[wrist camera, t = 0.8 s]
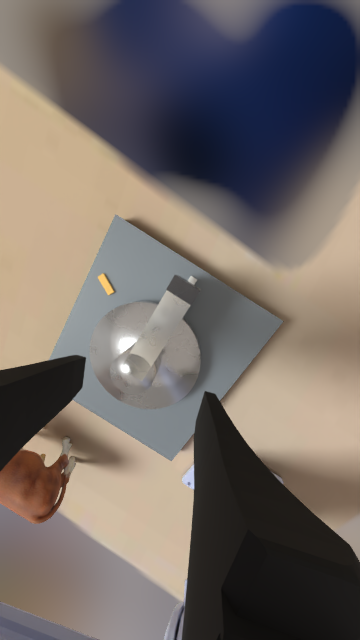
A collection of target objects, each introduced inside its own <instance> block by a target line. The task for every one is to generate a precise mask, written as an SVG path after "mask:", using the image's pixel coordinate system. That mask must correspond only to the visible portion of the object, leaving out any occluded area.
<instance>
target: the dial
mask: <svg viewBox="0 0 360 640" xmlns="http://www.w3.org/2000/svg"><path fill="white" fill-rule="evenodd" d="M166 290H167V291H166V292H165V294H164V296H163V297H162V299H161V301H160V302H159V303H157V302H152V301H136V302H131V303H128V304H124V305H121V306H119V307H117V308H115V309H113V310H111V311H110V312H108V313H107V314H106V315H105V316H104V317H103V318H102V319H101V320H100V321H99V323H98V324H97V326H96V327H95V329H94V332H93V334H92V337H91V341H90V361H91V365H92V368H93V371H94V373H95V375H96V377H97V379H98V381H99V382H100V383H101V385H102V386H103V387H104V388H105V390H106V391H107V392H108V393H110V394H111V395H112V396H113V397H115V398H116V399H117V400H119V401H121V402H123V403H125V404H127V405H129V406H132V407H136V408H141V409H159V408H164V407H167V406H170V405H173V404H175V403H177V402H178V401H180V400H181V399H182V398H184V397H185V396H186V395H187V394H188V393H189V392H190V390H191V389H192V388H193V386H194V384H195V382H196V380H197V378H198V375H199V371H200V364H201V351H200V345H199V341H198V338H197V336H196V334H195V331H194V330H193V328H192V327H191V325H190V324H189V323H188V321H187V320H186V319H185V318H184V317H183V316H184V315H185V313H186V312H187V310H188V308H189V307H190V305H192V304H193V302H194V300H195V299H196V297H197V296H198V294H199V293H200V291H201V289H200V288H198V287H197V286H195V285H193V284H192V283H190V282H189V281H187V280H186V279H184V278H182V277H181V276H178V275H174V277H173V279H172V280H171V282H170V284H169V285H168V287H167V289H166Z"/></svg>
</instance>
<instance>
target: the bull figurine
mask: <svg viewBox="0 0 360 640" xmlns="http://www.w3.org/2000/svg"><path fill="white" fill-rule="evenodd" d="M62 446H63V449H62V453H61V455H60V457H59V459H58V460H57V461H56V462H55V463H54V464H53V465H52V466H50V467H45V465H44V460H45V454H41V456H40V455H39V454H37V453H35V452H32V451H28V450H24V449H22V448H21V449H20V451H19V452H18V453H17V454H16V455H15V456H14V457H13V458H12V459H11V460H10V461H9V462H8V464H7V465H6V466H5V467H4V468H3V469H2V470H1V471H0V503H1V504H2V505H4V506H6V507H7V508H9V509H10V510H12V511H13V512H15V513H17V514H18V515H20V516H22V517H23V518H25V519H27V520H28V521H30V522H31V523H34V524H38V523H42V522H44V521H46V520H48V519H49V518H51V517H52V515H53V514H54V513H55V512H56V511H57V509H58V508H59V506H60V504H61V502H62V500H63V497H64V494H65V490H66V484H67V483H68V482H69V478H70V475H71V472H72V470H73V469H74V467H75V465H76V463H75V457H74V456H73V457H72V456H71V457H70V458H69V460H68V453H69V450H70V448H71V446H72V443H70V438H68V437H64V438H63V440H62ZM63 469H64V472H63V473H62V474H61V472H62V470H63ZM61 487H62V491H61V494H60V497H59V499H58V502H57V503H56V504H55V502H56V499H57V497H58V494H59V490H60V488H61ZM54 504H55V505H54Z"/></svg>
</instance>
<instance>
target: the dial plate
mask: <svg viewBox="0 0 360 640" xmlns="http://www.w3.org/2000/svg"><path fill="white" fill-rule="evenodd" d="M174 275H178V276H181V277H182V278H184V279H186V280H187V281H189V282H190V283H192V284H193V285H195V286H197V287H198V288H200V289H201V291H200V293H199V294H198V296H197V297H196V299H195V300H194V302H193V304H192V305H190V307H189V308H188V310H187V312H186V313H185V315H184V316H183V317H184V318H185V319H186V320H187V321H188V323H189V324H190V325H191V327H192V328H193V330H194V331H195V334H196V336H197V338H198V341H199V345H200V351H201V364H200V371H199V375H198V378H197V380H196V382H195V384H194V386H193V388H192V389H191V390H190V392H189V393H188V394H187V395H186V396H185V397H184V398H182V399H181V400H180V401H178V402H177V403H175V404H173V405H170V406H167V407H164V408H159V409H141V408H136V407H132V406H129V405H127V404H125V403H123V402H121V401H119V400H117V399H116V398H115V397H113V396H112V395H111V394H110V393H108V392H107V391H106V390H105V388H104V387H103V386H102V385H101V383H100V382H99V381H98V379H97V377H96V375H95V373H94V371H93V368H92V365H91V361H90V341H91V337H92V334H93V332H94V329H95V327H96V326H97V324H98V323H99V321H100V320H101V319H102V318H103V317H104V316H105V315H106V314H107V313H108V312H110V311H111V310H113V309H115V308H117V307H119V306H121V305H124V304H128V303H131V302H136V301H152V302H157V303H159V302H160V301H161V299H162V297H163V296H164V294H165V292H166V291H167V290H166V289H167V287H168V285H169V284H170V282H171V280H172V279H173V277H174ZM283 322H284V321H282V320H281V319H279V318H278V317H276V316H274V315H273V314H271V313H270V312H268V311H267V310H265V309H263V308H262V307H260V306H259V305H257V304H256V303H254V302H253V301H251V300H249V299H248V298H246V297H245V296H243V295H242V294H240V293H238V292H237V291H235V290H234V289H232V288H231V287H229V286H227V285H226V284H224V283H223V282H221V281H220V280H218V279H216V278H215V277H213V276H212V275H210V274H209V273H207V272H205V271H204V270H202V269H201V268H199V267H198V266H196V265H194V264H193V263H191V262H190V261H188V260H187V259H185V258H183V257H182V256H180V255H179V254H177V253H176V252H174V251H172V250H171V249H169V248H168V247H166V246H165V245H163V244H162V243H160V242H158V241H157V240H155V239H154V238H152V237H151V236H149V235H147V234H146V233H144V232H143V231H141V230H140V229H138V228H136V227H135V226H133V225H132V224H130V223H129V222H127V221H125V220H124V219H122V218H121V217H119V216H118V215H116V214H115V217H114V219H113V221H112V223H111V225H110V228H109V230H108V232H107V234H106V236H105V239H104V241H103V243H102V245H101V247H100V249H99V252H98V254H97V256H96V258H95V260H94V263H93V265H92V267H91V269H90V271H89V273H88V276H87V278H86V280H85V282H84V284H83V287H82V289H81V291H80V293H79V295H78V298H77V300H76V302H75V304H74V306H73V308H72V311H71V313H70V315H69V317H68V319H67V322H66V324H65V326H64V328H63V330H62V332H61V335H60V337H59V339H58V341H57V343H56V346H55V348H54V350H53V352H52V354H51V357H50V359H49V360H53V359H57V358H61V357H66V356H71V355H79V356H83V357H86V363H85V371H84V379H83V387H82V389H81V390H80V391H79V392H78V394H77V395H76V396H75V397H74V398H73V399H72V400H74V401H75V402H77V403H79V404H80V405H82V406H83V407H85V408H87V409H88V410H90V411H91V412H93V413H95V414H96V415H98V416H99V417H101V418H103V419H104V420H106V421H107V422H109V423H111V424H112V425H114V426H116V427H117V428H119V429H120V430H122V431H124V432H125V433H127V434H128V435H130V436H132V437H133V438H135V439H136V440H138V441H140V442H141V443H143V444H145V445H146V446H148V447H149V448H151V449H153V450H154V451H156V452H157V453H159V454H161V455H162V456H164V457H165V458H167V459H169V460H170V461H172V460H173V459H174V457H175V456H176V455H177V454H178V452H179V451H180V450H181V449H182V447H183V446H184V445H185V444H186V442H187V441H188V440H189V439H190V437H191V436H192V435H193V434H194V432H195V424H196V418H197V415H198V412H199V409H200V405H201V402H202V399H203V395H204V392H205V391H207V392H211V393H214V394H216V396H217V397H218V399H219V401H220V400H221V399H222V398H223V396H224V395H225V394H226V393H227V391H228V390H229V389H230V388H231V386H232V385H233V384H234V383H235V381H236V380H237V379H238V378H239V376H240V375H241V374H242V373H243V371H244V370H245V369H246V368H247V366H248V365H249V364H250V363H251V361H252V360H253V359H254V358H255V356H256V355H257V354H258V353H259V351H260V350H261V349H262V348H263V346H264V345H265V344H266V343H267V341H268V340H269V339H270V338H271V336H272V335H273V334H274V333H275V331H276V330H277V329H278V328H279V326H280V325H281V324H282V323H283Z"/></svg>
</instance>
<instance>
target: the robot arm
mask: <svg viewBox="0 0 360 640" xmlns="http://www.w3.org/2000/svg"><path fill="white" fill-rule="evenodd" d="M85 363H86V357H83V356H79V355H71V356H66V357H61V358H57V359H53V360H48V361H44V362H39V363H35V364H30V365H25V366H20V367H15V368H10V369H5V370H0V471H1V470H2V469H3V468H4V467H5V466H6V465H7V464H8V462H9V461H10V460H11V459H12V458H13V457H14V456H15V455H16V454H17V453H18V452H19V451H20V449H21V448H22V447H23V446H24V445H25V444H26V443H27V442H28V441H29V440H30V439H31V438H32V437H33V436H34V435H35V434H36V433H37V432H39V431H40V430H41V429H42V428H43V427H44V426H45V425H46V424H47V423H48V422H49V421H50V420H52V419H53V418H54V417H55V416H56V415H57V414H58V413H59V412H60V411H61V410H62V409H63V408H64V407H66V406H67V405H68V404H69V403H70V402H71V401H72V399H73V398H74V397H75V396H76V395H77V394H78V392H79V391H80V390H81V389H82V387H83V379H84V371H85ZM182 482H183V483H184V484H185V485H187V486H188V487H190V488H192V489H193V490H194V504H193V518H192V531H191V543H190V555H189V567H188V578H187V580H185V590H184V602H179V603H178V604H177V605H176V606H175V608H174V610H173V613H172V615H171V618H170V621H169V624H168V627H167V630H166V633H165V637H164V640H360V562H359V560H358V558H357V556H356V555H355V553H354V551H353V549H352V548H351V546H350V545H349V544H348V543H347V542H346V541H344V540H343V539H342V538H341V537H340V536H339V535H338V534H336V533H335V532H334V531H333V530H332V529H331V528H329V527H328V526H327V525H326V524H325V523H324V522H323V521H321V520H320V519H319V518H318V517H317V516H316V515H314V514H313V513H312V512H311V511H310V510H309V509H308V508H307V507H306V506H305V505H304V504H303V503H302V502H300V501H299V500H298V499H297V498H296V497H295V496H294V495H293V494H292V493H291V492H290V491H289V490H288V489H287V488H286V487H285V486H284V485H283V483H284V482H283V480H282V478H281V477H279V476H278V475H276V474H274V473H273V472H271V471H270V470H269V469H268V468H267V467H266V466H265V465H264V464H263V462H262V461H261V460H260V459H259V458H258V457H257V455H256V454H255V453H254V452H253V450H252V449H251V448H250V447H249V445H248V444H247V443H246V441H245V440H244V439H243V437H242V436H241V435H240V433H239V432H238V430H237V429H236V427H235V426H234V424H233V423H232V421H231V420H230V418H229V416H228V415H227V413H226V411H225V410H224V408H223V406H222V404H221V403H220V401H219V399H218V397H217V396H216V394H214V393H211V392H207V391H205V392H204V395H203V399H202V402H201V405H200V409H199V412H198V415H197V418H196V424H195V433H194V464H193V465H192V467H191V468H190V469H189V470H188V471H187V472H186V474H185V475H184V476H183V477H182ZM0 640H98V639H95V638H93V637H90V636H88V635H85V634H83V633H80V632H78V631H75V630H72V629H70V628H67V627H65V626H62V625H59V624H57V623H54V622H52V621H49V620H47V619H44V618H41V617H39V616H36V615H34V614H31V613H29V612H26V611H23V610H21V609H18V608H16V607H13V606H11V605H8V604H5V603H3V602H0Z"/></svg>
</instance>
